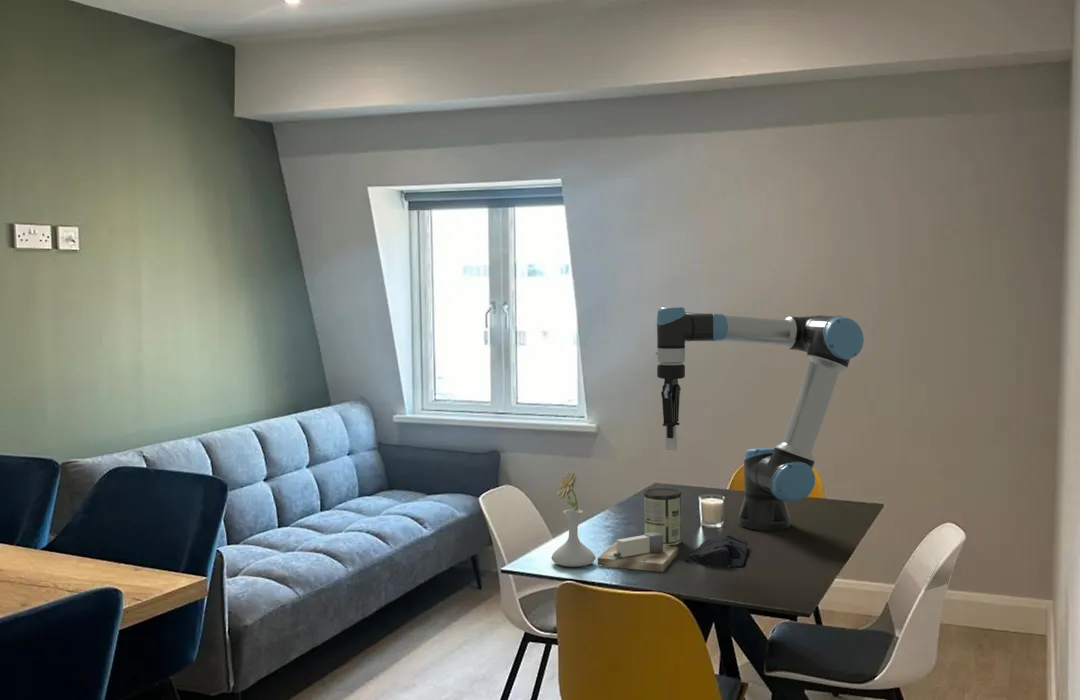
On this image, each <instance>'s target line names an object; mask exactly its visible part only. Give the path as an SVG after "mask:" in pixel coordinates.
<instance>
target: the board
mask: <svg viewBox="0 0 1080 700" xmlns="http://www.w3.org/2000/svg"><path fill="white" fill-rule="evenodd" d="M614 553H617V547H616V541H615V542H614V543H613V544H612V545H611V546H609V547H608V548H607V549H606V550H605V551H604V552H603V553H601V555H599V556H598V557H597V566H598V565H601V566H600V567H607V566H610V568H617V567H619V568H620V569H629V570H631V569H632V570H640V571H641V570H642V571H650V572H651V571H652V572H653V571H654V572H661V573H663V572H664V571H665V570H666V568H667V567H668V566H669V565H670V564H671V563H672V562H673V561H674V559H676V557H677V556H678V555H679V546H675V545H673V546H663V551H662V552H656V553H652V552H648V553H643V554H638V555H632V556H627V557H614ZM677 554H678V555H677ZM672 560H673V561H672Z"/></svg>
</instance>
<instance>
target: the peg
mask: <svg viewBox="0 0 1080 700" xmlns="http://www.w3.org/2000/svg"><path fill="white" fill-rule="evenodd" d="M615 542H616V547H617V553H614V557H627V556H632V555H638V554H643V553H648V552H652V553H656V552H662V551H663V534H661V533H645V532H644V534H642V535H637V536H631V537H626V538H620V539H616V540H615Z"/></svg>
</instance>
